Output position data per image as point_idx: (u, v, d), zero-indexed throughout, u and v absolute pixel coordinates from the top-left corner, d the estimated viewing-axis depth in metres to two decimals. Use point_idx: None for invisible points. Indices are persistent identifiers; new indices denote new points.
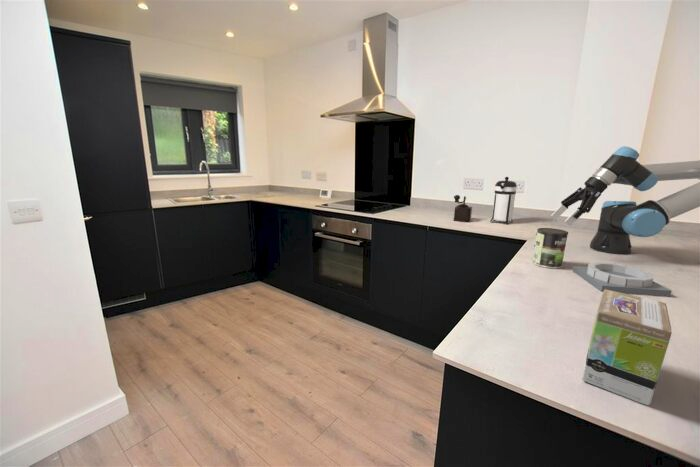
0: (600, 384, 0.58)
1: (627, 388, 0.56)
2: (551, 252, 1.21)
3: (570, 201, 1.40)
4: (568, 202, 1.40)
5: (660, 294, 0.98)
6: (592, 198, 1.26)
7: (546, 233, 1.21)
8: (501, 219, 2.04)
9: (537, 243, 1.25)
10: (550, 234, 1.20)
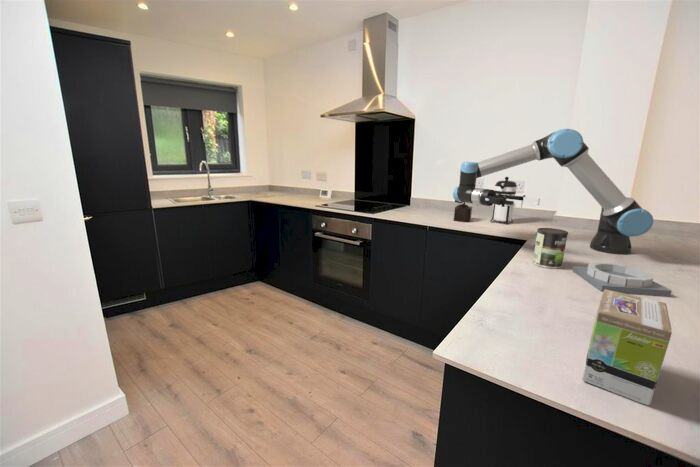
0: (600, 384, 0.58)
1: (627, 388, 0.56)
2: (551, 252, 1.21)
3: (515, 200, 1.40)
4: None
5: (660, 294, 0.98)
6: (490, 201, 1.35)
7: (546, 233, 1.21)
8: (501, 219, 2.04)
9: (537, 243, 1.25)
10: (550, 234, 1.20)
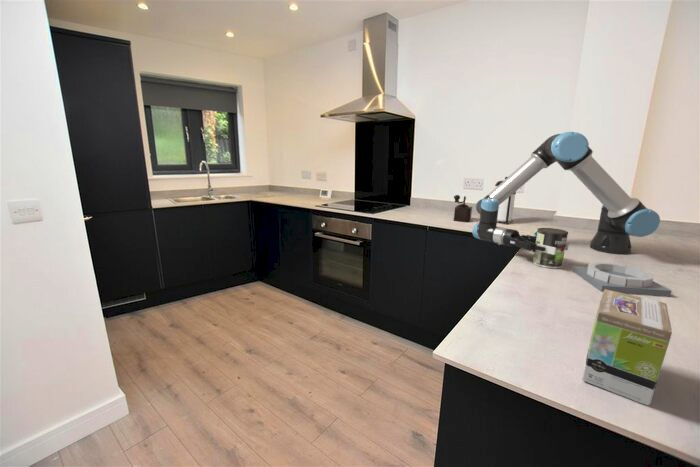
0: (600, 384, 0.58)
1: (627, 388, 0.56)
2: None
3: None
4: None
5: (660, 294, 0.98)
6: (518, 245, 1.29)
7: (546, 232, 1.21)
8: (501, 219, 2.04)
9: (537, 243, 1.25)
10: (550, 234, 1.20)
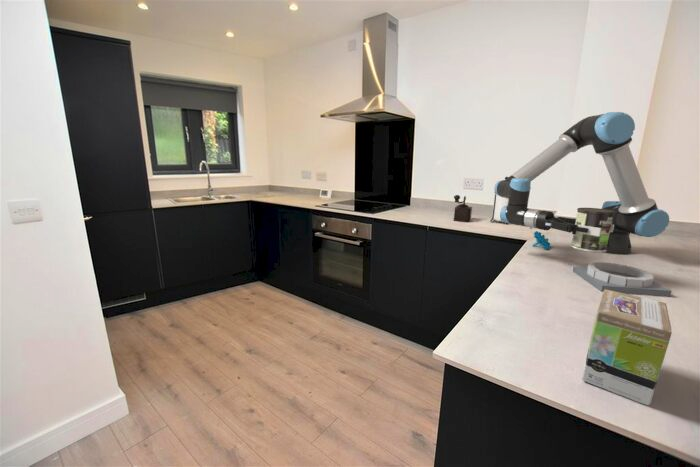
0: (600, 384, 0.58)
1: (627, 388, 0.56)
2: None
3: None
4: None
5: (660, 294, 0.98)
6: (555, 227, 1.15)
7: (589, 211, 1.07)
8: None
9: (577, 224, 1.11)
10: (594, 213, 1.06)
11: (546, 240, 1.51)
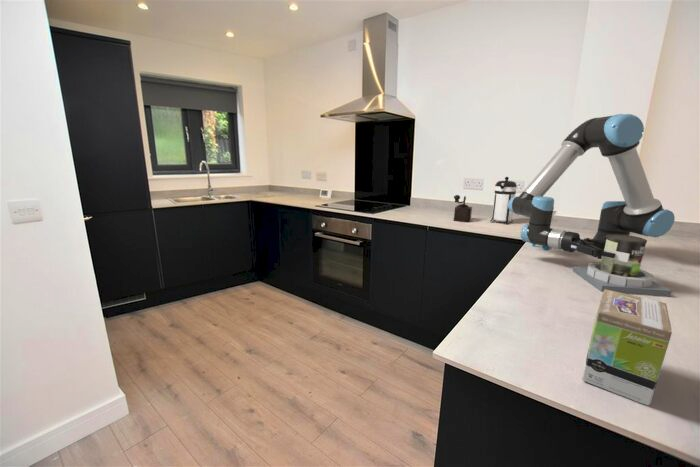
0: (600, 384, 0.58)
1: (627, 388, 0.56)
2: (627, 264, 1.02)
3: None
4: None
5: (660, 294, 0.98)
6: (580, 250, 1.10)
7: (621, 240, 1.02)
8: (501, 219, 2.04)
9: None
10: (626, 242, 1.01)
11: None
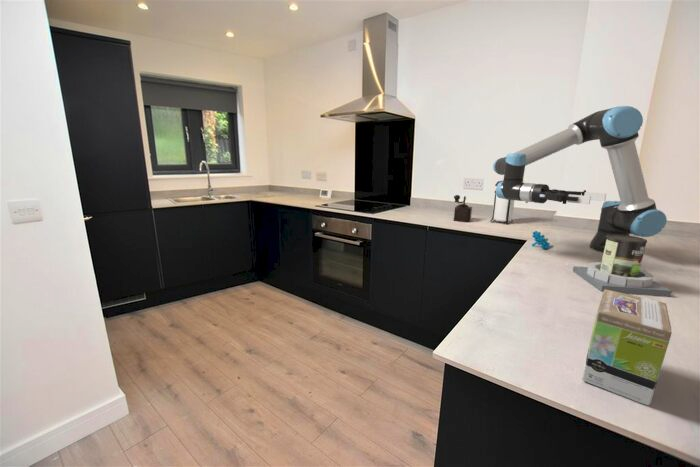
0: (600, 384, 0.58)
1: (627, 388, 0.56)
2: (627, 264, 1.02)
3: None
4: None
5: (660, 294, 0.98)
6: (547, 198, 1.16)
7: (621, 240, 1.02)
8: (501, 219, 2.04)
9: (607, 252, 1.06)
10: (626, 242, 1.01)
11: (545, 240, 1.51)
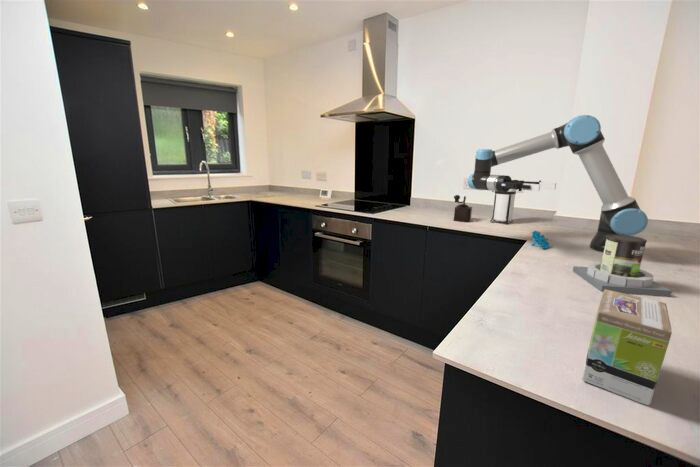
0: (600, 384, 0.58)
1: (627, 388, 0.56)
2: (627, 264, 1.02)
3: None
4: None
5: (660, 294, 0.98)
6: (507, 186, 1.37)
7: (621, 240, 1.02)
8: (501, 219, 2.04)
9: (607, 252, 1.06)
10: (626, 242, 1.01)
11: (545, 240, 1.51)
